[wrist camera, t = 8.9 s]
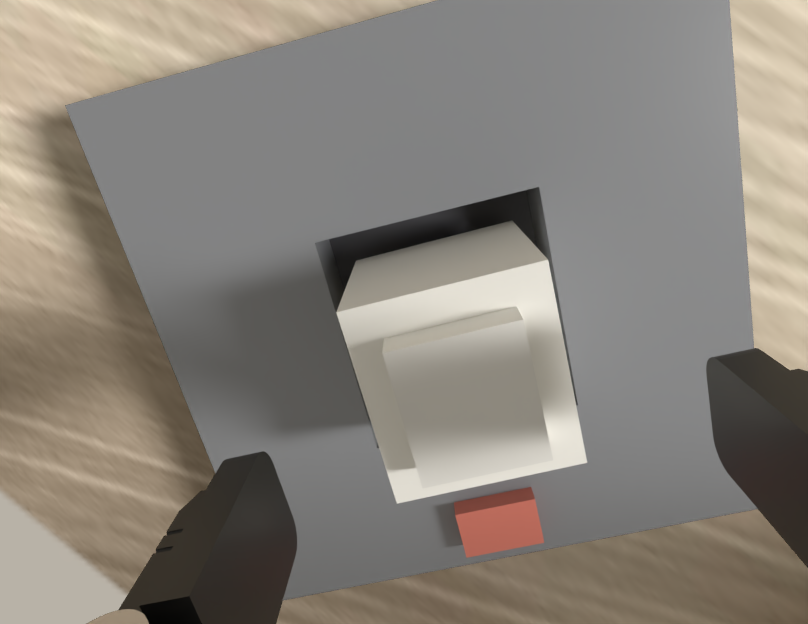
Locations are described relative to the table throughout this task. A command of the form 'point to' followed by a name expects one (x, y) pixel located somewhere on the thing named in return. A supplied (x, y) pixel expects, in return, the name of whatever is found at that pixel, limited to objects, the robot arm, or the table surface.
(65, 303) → the table surface
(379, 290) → the plug
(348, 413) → the socket
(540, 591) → the table surface
